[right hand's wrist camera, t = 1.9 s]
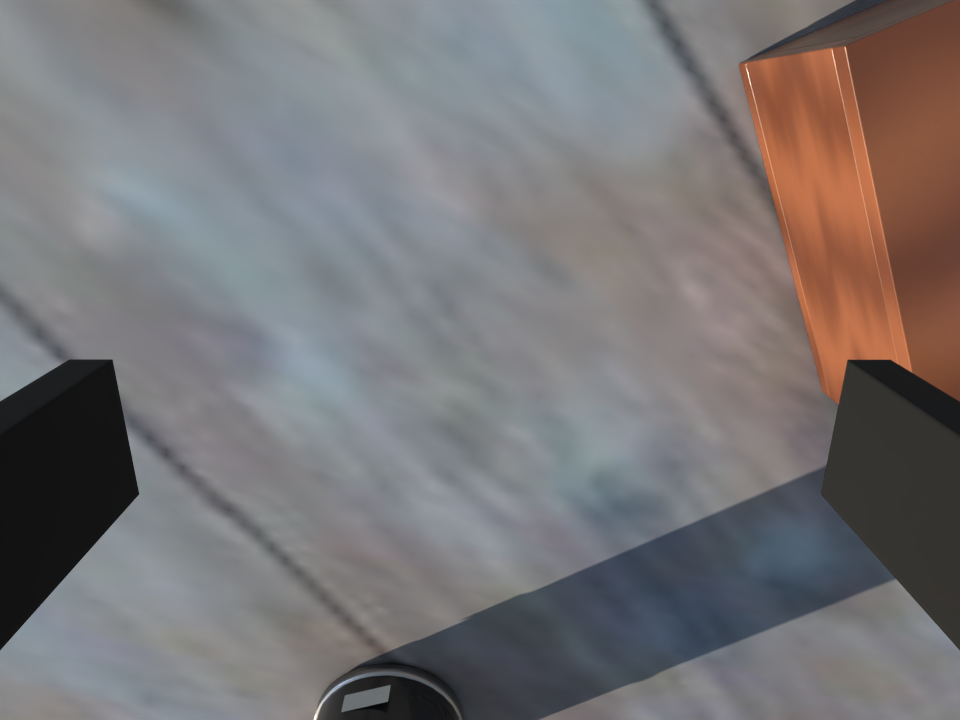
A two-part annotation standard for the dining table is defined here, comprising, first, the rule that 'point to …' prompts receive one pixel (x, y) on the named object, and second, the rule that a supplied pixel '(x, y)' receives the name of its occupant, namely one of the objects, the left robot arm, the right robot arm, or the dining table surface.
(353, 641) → the dining table surface
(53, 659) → the dining table surface
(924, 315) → the wooden drawer cabinet
